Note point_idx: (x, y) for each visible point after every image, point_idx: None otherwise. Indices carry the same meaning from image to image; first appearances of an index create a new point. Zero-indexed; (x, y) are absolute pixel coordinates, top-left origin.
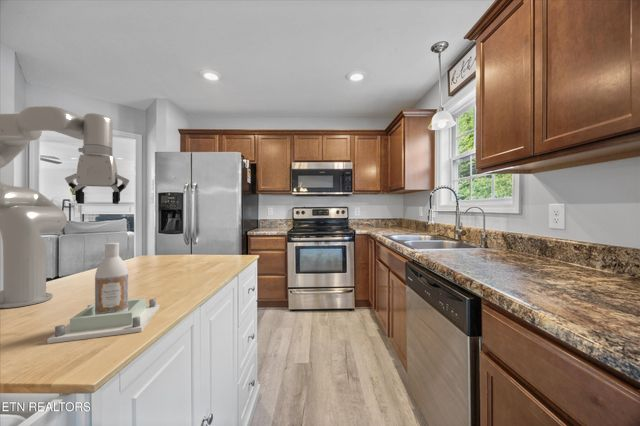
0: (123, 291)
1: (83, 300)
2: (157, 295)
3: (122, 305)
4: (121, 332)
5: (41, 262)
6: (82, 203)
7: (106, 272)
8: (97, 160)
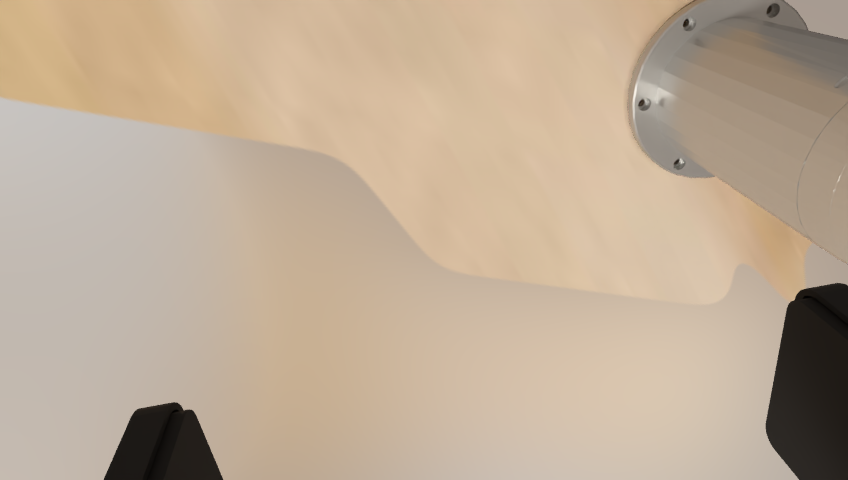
0: None
1: (461, 62)
2: (105, 84)
3: None
4: None
5: (765, 142)
6: (777, 399)
7: None
8: None
